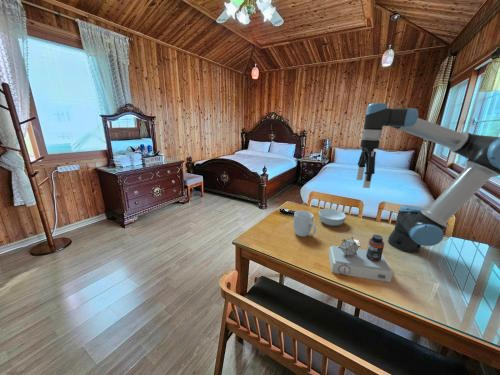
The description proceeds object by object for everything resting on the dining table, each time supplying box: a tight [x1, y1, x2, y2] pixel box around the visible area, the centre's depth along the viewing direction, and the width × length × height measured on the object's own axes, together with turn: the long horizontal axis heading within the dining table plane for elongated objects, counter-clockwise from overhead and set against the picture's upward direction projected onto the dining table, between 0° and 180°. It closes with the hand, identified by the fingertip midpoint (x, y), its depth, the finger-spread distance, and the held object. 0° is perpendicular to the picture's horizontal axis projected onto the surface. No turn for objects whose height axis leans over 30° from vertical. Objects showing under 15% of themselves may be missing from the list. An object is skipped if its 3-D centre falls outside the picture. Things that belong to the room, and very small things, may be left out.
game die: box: [338, 236, 361, 257], centre depth 101 cm, size 9×8×10 cm
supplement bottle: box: [366, 233, 385, 262], centre depth 98 cm, size 6×6×11 cm
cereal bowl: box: [318, 208, 347, 227], centre depth 145 cm, size 17×17×7 cm
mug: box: [293, 210, 317, 238], centre depth 128 cm, size 15×11×13 cm
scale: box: [328, 244, 394, 283], centre depth 102 cm, size 24×15×6 cm, turn 77°
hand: (362, 183), depth 107 cm, fingers open, 13 cm apart
